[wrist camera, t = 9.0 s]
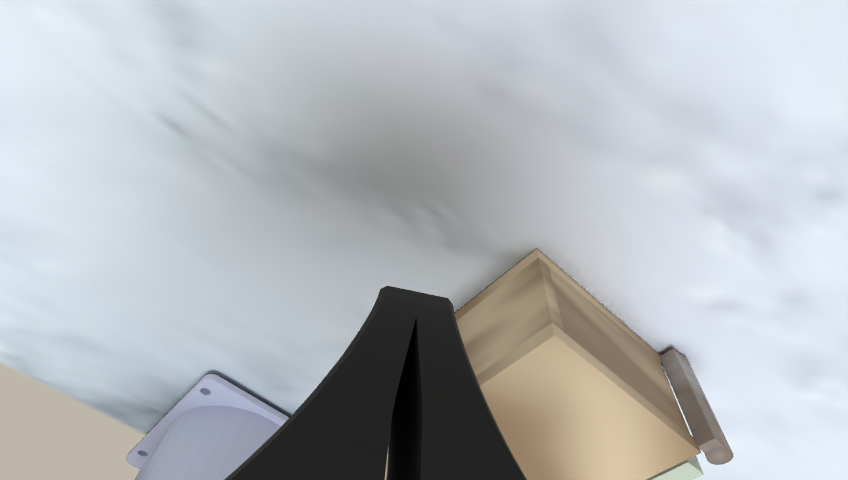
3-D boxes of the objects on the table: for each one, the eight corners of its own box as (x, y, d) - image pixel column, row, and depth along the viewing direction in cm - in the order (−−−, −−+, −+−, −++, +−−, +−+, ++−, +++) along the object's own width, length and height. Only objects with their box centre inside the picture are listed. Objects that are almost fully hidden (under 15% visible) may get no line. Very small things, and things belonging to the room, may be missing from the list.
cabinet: (498, 470, 29) (503, 568, 25) (364, 384, 26) (345, 478, 22) (690, 360, 24) (739, 459, 20) (551, 236, 21) (573, 322, 17)
